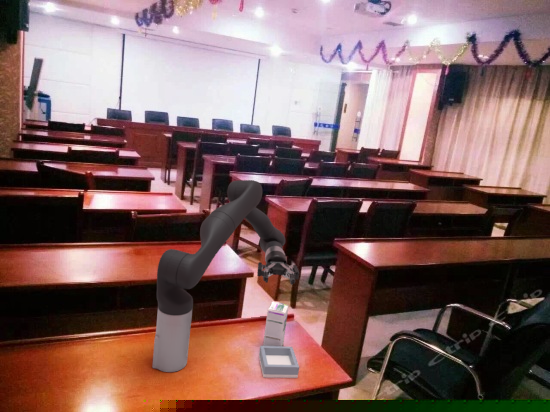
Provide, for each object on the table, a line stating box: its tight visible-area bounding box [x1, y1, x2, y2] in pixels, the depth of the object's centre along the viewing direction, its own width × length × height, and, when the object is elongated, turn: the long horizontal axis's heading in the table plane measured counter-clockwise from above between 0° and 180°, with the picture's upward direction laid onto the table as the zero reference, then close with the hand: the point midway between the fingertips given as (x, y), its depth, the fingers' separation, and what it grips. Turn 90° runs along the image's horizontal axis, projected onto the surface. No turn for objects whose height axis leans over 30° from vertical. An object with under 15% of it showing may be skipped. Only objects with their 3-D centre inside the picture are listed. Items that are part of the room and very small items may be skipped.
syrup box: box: [262, 301, 289, 346], centre depth 126 cm, size 6×6×14 cm
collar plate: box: [258, 345, 300, 379], centre depth 118 cm, size 10×10×4 cm
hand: (279, 281), depth 132 cm, fingers open, 8 cm apart
